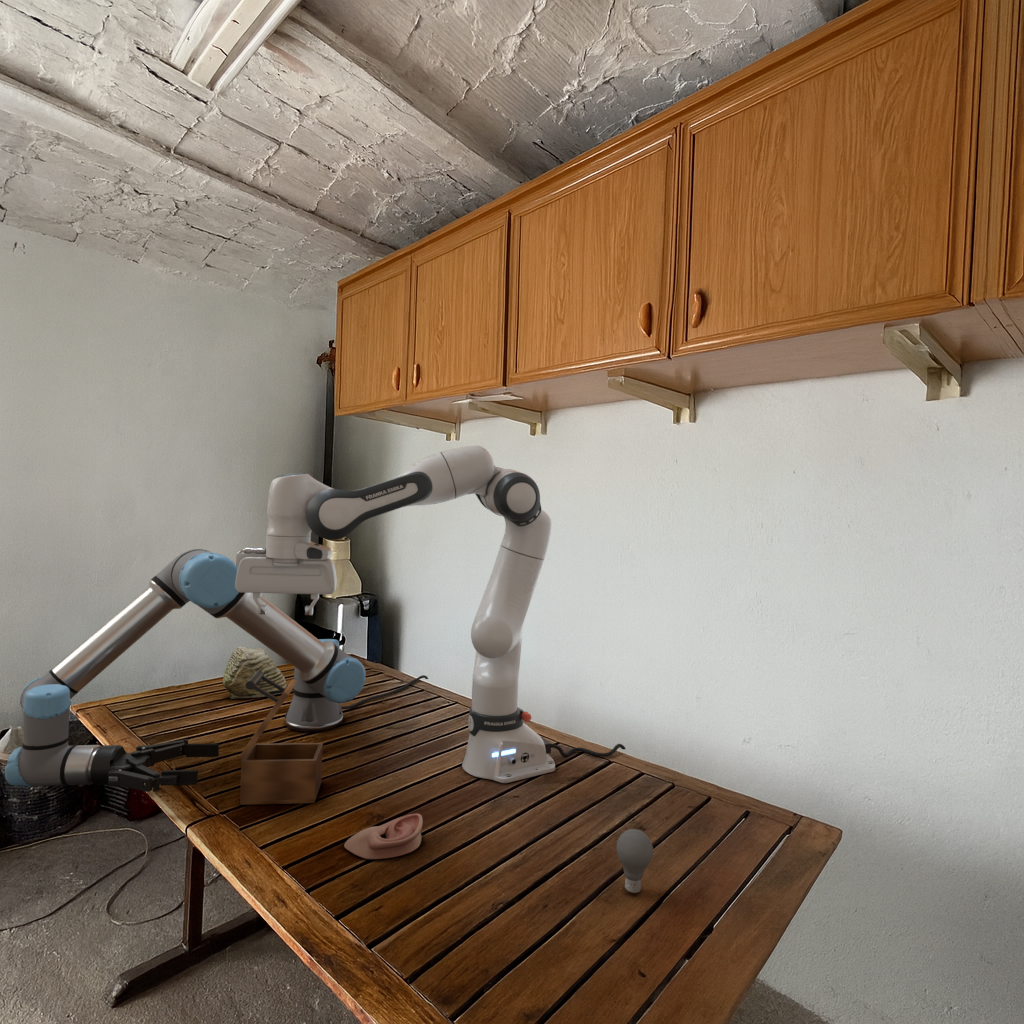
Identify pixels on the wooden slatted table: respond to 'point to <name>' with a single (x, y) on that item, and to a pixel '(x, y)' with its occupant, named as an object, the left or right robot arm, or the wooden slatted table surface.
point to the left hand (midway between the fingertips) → (208, 762)
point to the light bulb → (634, 857)
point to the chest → (281, 773)
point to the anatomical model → (387, 838)
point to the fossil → (251, 673)
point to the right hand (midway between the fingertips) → (285, 614)
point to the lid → (253, 685)
